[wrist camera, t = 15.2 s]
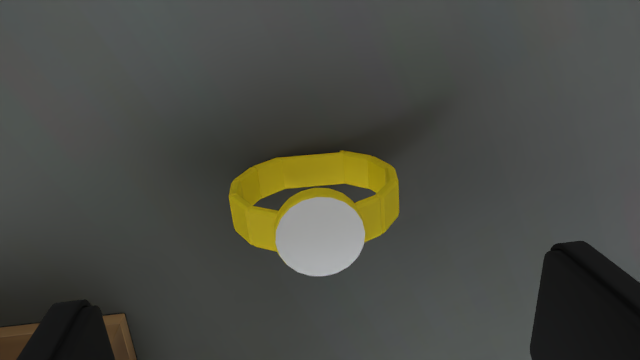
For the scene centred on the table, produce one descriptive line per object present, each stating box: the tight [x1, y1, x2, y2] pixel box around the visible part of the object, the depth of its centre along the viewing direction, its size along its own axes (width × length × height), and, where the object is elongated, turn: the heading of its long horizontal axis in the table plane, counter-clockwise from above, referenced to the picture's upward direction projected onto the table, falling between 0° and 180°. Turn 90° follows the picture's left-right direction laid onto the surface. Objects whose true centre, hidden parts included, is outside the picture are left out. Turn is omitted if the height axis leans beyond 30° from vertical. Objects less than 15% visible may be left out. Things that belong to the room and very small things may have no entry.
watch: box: [229, 150, 399, 276], centre depth 16 cm, size 6×3×6 cm, turn 95°
